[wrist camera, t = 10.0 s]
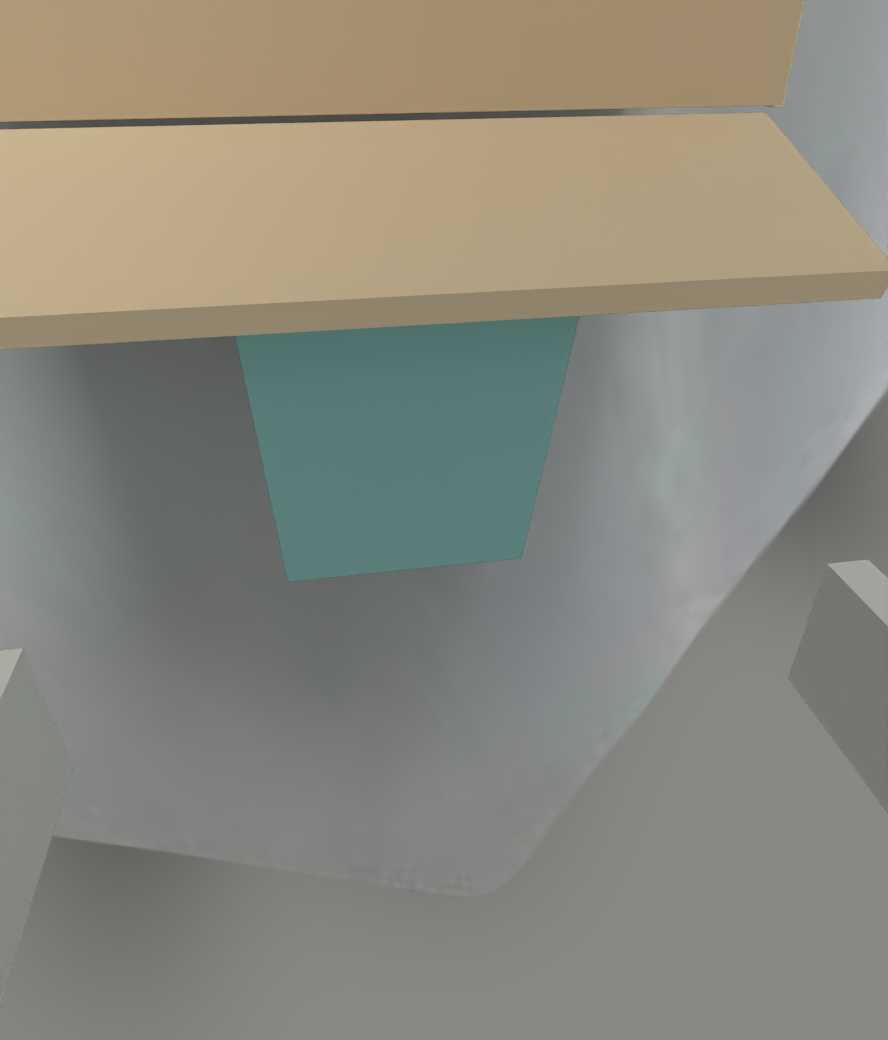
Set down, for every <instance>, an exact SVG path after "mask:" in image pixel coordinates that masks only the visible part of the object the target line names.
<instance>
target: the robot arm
mask: <svg viewBox="0 0 888 1040" xmlns="http://www.w3.org/2000/svg"><path fill="white" fill-rule="evenodd" d="M788 679H789V681H790V682H791V683H792V685H793V686H794V687H795V689H796V690H797V691H798V693H799V694H800V695H801V697H802V698H803V700H804V701H805V702H806V704H807V705H808V706H809V708H810V709H811V710H812V712H813V713H814V714H815V716H816V717H817V718H818V720H819V721H820V722H821V724H822V725H823V727H824V728H825V729H826V731H827V732H828V733H829V735H830V736H831V737H832V739H833V740H834V741H835V743H836V744H837V745H838V747H839V748H840V750H841V751H842V752H843V754H844V755H845V756H846V757H847V759H848V760H849V761H850V763H851V764H852V766H853V767H854V768H855V770H856V771H857V772H858V774H859V775H860V776H861V778H862V779H863V781H864V782H865V783H866V785H867V786H868V787H869V789H870V790H871V791H872V793H873V794H874V795H875V797H876V798H877V799H878V801H879V802H880V804H881V805H882V806H883V807H884V809H885V810H886V812H887V813H888V578H887V577H886V576H885V575H884V574H882V573H881V572H880V571H879V570H878V569H877V568H876V567H875V566H874V565H873V564H872V563H871V562H870V561H869V560H860V561H850V562H842V563H831V564H827V566H826V569H825V572H824V575H823V578H822V581H821V584H820V587H819V590H818V593H817V595H816V598H815V601H814V605H813V607H812V610H811V613H810V616H809V619H808V622H807V625H806V628H805V631H804V634H803V636H802V639H801V642H800V645H799V648H798V651H797V654H796V657H795V660H794V663H793V666H792V668H791V672H790V674H789V678H788ZM72 770H73V767H72V764H71V762H70V759H69V757H68V755H67V752H66V750H65V747H64V745H63V743H62V740H61V738H60V735H59V733H58V731H57V728H56V726H55V724H54V721H53V719H52V716H51V714H50V712H49V709H48V707H47V704H46V702H45V700H44V697H43V695H42V693H41V690H40V688H39V685H38V683H37V681H36V678H35V676H34V673H33V671H32V669H31V666H30V664H29V661H28V659H27V657H26V654H25V652H24V650H23V648H19V649H10V650H0V1005H1V1002H2V999H3V995H4V992H5V989H6V985H7V982H8V979H9V976H10V973H11V970H12V966H13V963H14V960H15V956H16V953H17V950H18V947H19V943H20V940H21V937H22V933H23V930H24V927H25V923H26V920H27V917H28V914H29V910H30V907H31V904H32V901H33V897H34V894H35V891H36V887H37V884H38V881H39V878H40V874H41V871H42V868H43V865H44V861H45V858H46V855H47V852H48V848H49V845H50V842H51V839H52V835H53V832H54V829H55V825H56V822H57V819H58V816H59V812H60V809H61V806H62V802H63V799H64V796H65V793H66V789H67V786H68V783H69V780H70V776H71V773H72Z"/></svg>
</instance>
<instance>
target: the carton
mask: <svg viewBox="0 0 888 1040" xmlns="http://www.w3.org/2000/svg"><path fill="white" fill-rule="evenodd" d="M804 4H805V0H0V122H12V121H59V120H107V119H154V118H201V117H249V116H296V115H344V114H391V113H439V112H486V111H533V110H581V109H628V108H676V107H723V106H768V107H783V106H784V101H785V96H786V91H787V86H788V82H789V77H790V72H791V67H792V62H793V57H794V52H795V47H796V43H797V38H798V33H799V28H800V23H801V18H802V13H803V8H804Z"/></svg>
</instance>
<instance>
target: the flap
mask: <svg viewBox="0 0 888 1040" xmlns="http://www.w3.org/2000/svg"><path fill="white" fill-rule="evenodd" d="M887 286H888V258H887V257H886V255H885V254H884V253H883V252H882V251H881V249H880V248H879V247H878V246H877V245H876V244H875V242H874V241H873V240H872V239H871V238H870V236H869V235H868V234H867V233H866V232H865V230H864V229H863V228H862V227H861V226H860V224H859V223H858V222H857V221H856V220H855V218H854V217H853V216H852V215H851V214H850V212H849V211H848V210H847V209H846V208H845V206H844V205H843V204H842V203H841V202H840V200H839V199H838V198H837V197H836V196H835V194H834V193H833V192H832V191H831V190H830V188H829V187H828V186H827V185H826V184H825V182H824V181H823V180H822V179H821V178H820V176H819V175H818V174H817V173H816V172H815V170H814V169H813V168H812V167H811V166H810V164H809V163H808V162H807V161H806V160H805V158H804V157H803V156H802V155H801V154H800V153H799V151H798V150H797V149H796V148H795V147H794V145H793V144H792V143H791V142H790V141H789V139H788V138H787V137H786V136H785V135H784V133H783V132H782V131H781V130H780V129H779V127H778V126H777V125H776V124H775V123H774V121H773V120H772V119H771V118H770V117H769V115H768V114H767V113H766V112H762V113H717V114H673V115H628V116H583V117H538V118H494V119H449V120H404V121H360V122H315V123H270V124H225V125H181V126H136V127H91V128H47V129H2V130H0V350H2V349H19V348H36V347H53V346H70V345H87V344H105V343H122V342H139V341H156V340H173V339H190V338H207V337H224V336H235V338H236V343H237V347H238V352H239V357H240V361H241V366H242V371H243V375H244V380H245V385H246V389H247V394H248V399H249V404H250V408H251V413H252V418H253V422H254V427H255V432H256V436H257V441H258V446H259V450H260V455H261V460H262V464H263V469H264V474H265V478H266V483H267V488H268V492H269V497H270V502H271V506H272V511H273V516H274V520H275V525H276V530H277V534H278V539H279V544H280V548H281V553H282V558H283V562H284V567H285V572H286V576H287V581H288V582H291V581H301V580H311V579H320V578H330V577H340V576H350V575H360V574H370V573H380V572H390V571H400V570H409V569H419V568H429V567H439V566H449V565H459V564H469V563H479V562H488V561H498V560H508V559H518V558H521V557H522V553H523V549H524V545H525V541H526V537H527V532H528V528H529V524H530V520H531V516H532V511H533V507H534V503H535V499H536V495H537V490H538V486H539V482H540V478H541V474H542V469H543V465H544V461H545V457H546V453H547V448H548V444H549V440H550V436H551V432H552V427H553V423H554V419H555V415H556V411H557V406H558V402H559V398H560V394H561V390H562V386H563V381H564V377H565V373H566V369H567V365H568V360H569V356H570V352H571V348H572V344H573V339H574V335H575V331H576V327H577V323H578V318H579V316H584V315H601V314H618V313H635V312H653V311H670V310H687V309H704V308H721V307H738V306H755V305H772V304H790V303H807V302H824V301H841V300H858V299H875V298H881V296H882V295H883V293H884V291H885V290H886V288H887Z"/></svg>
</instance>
